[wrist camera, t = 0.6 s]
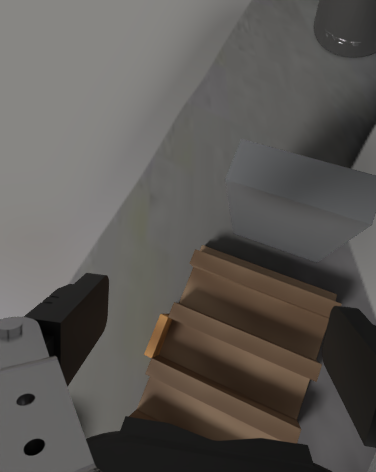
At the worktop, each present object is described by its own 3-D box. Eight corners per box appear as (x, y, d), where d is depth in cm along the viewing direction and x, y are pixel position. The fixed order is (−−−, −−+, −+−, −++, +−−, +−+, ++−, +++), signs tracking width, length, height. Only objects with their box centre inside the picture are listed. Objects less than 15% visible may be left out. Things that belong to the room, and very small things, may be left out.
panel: (242, 208, 36) (241, 138, 21) (326, 235, 34) (386, 178, 19) (233, 233, 35) (225, 179, 21) (316, 262, 33) (371, 224, 19)
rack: (196, 244, 36) (191, 237, 32) (334, 295, 32) (344, 293, 29) (123, 427, 33) (109, 440, 29) (266, 505, 29) (268, 530, 26)
